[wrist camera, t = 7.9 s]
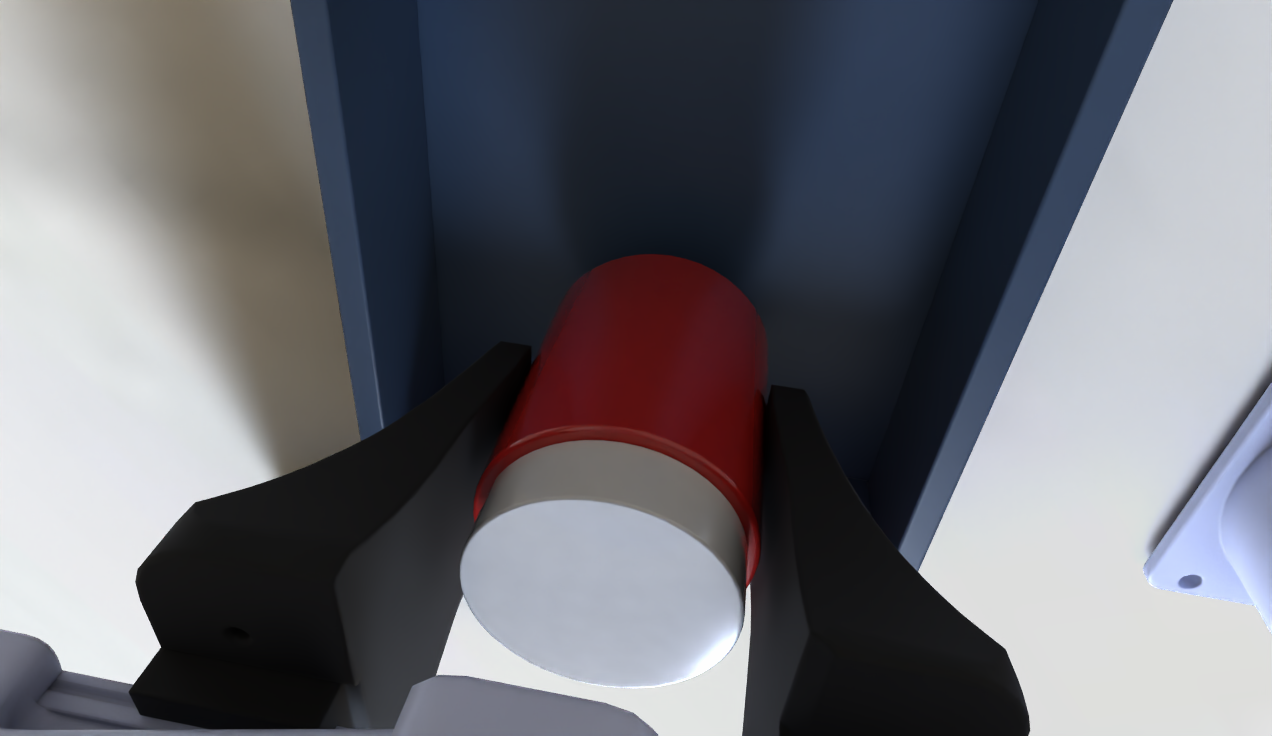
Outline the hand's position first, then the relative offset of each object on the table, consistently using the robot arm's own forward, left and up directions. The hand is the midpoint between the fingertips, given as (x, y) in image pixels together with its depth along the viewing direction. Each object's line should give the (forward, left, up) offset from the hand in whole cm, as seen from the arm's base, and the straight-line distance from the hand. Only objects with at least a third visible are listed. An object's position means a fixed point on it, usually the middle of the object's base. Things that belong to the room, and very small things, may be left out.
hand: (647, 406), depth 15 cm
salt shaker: (0, 0, -2) cm, 2 cm away
